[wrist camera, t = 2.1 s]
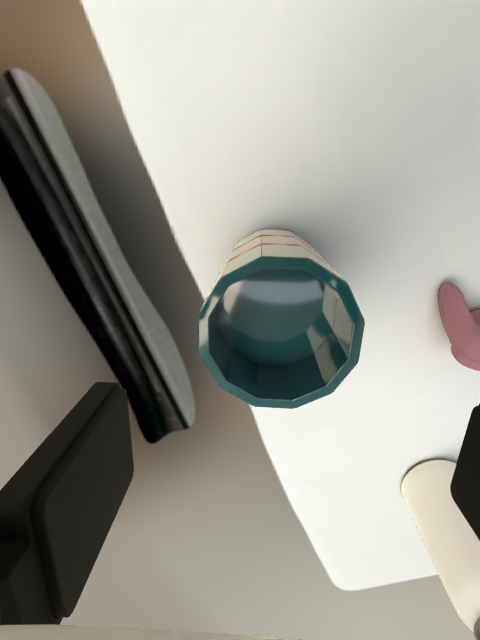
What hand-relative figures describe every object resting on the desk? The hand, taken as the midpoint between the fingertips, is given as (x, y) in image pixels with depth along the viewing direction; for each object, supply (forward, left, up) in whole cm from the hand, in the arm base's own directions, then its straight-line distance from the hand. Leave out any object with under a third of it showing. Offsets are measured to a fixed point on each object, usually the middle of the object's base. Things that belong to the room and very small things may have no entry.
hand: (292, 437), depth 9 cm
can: (+20, +17, -19) cm, 32 cm away
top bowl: (0, 0, -12) cm, 12 cm away
